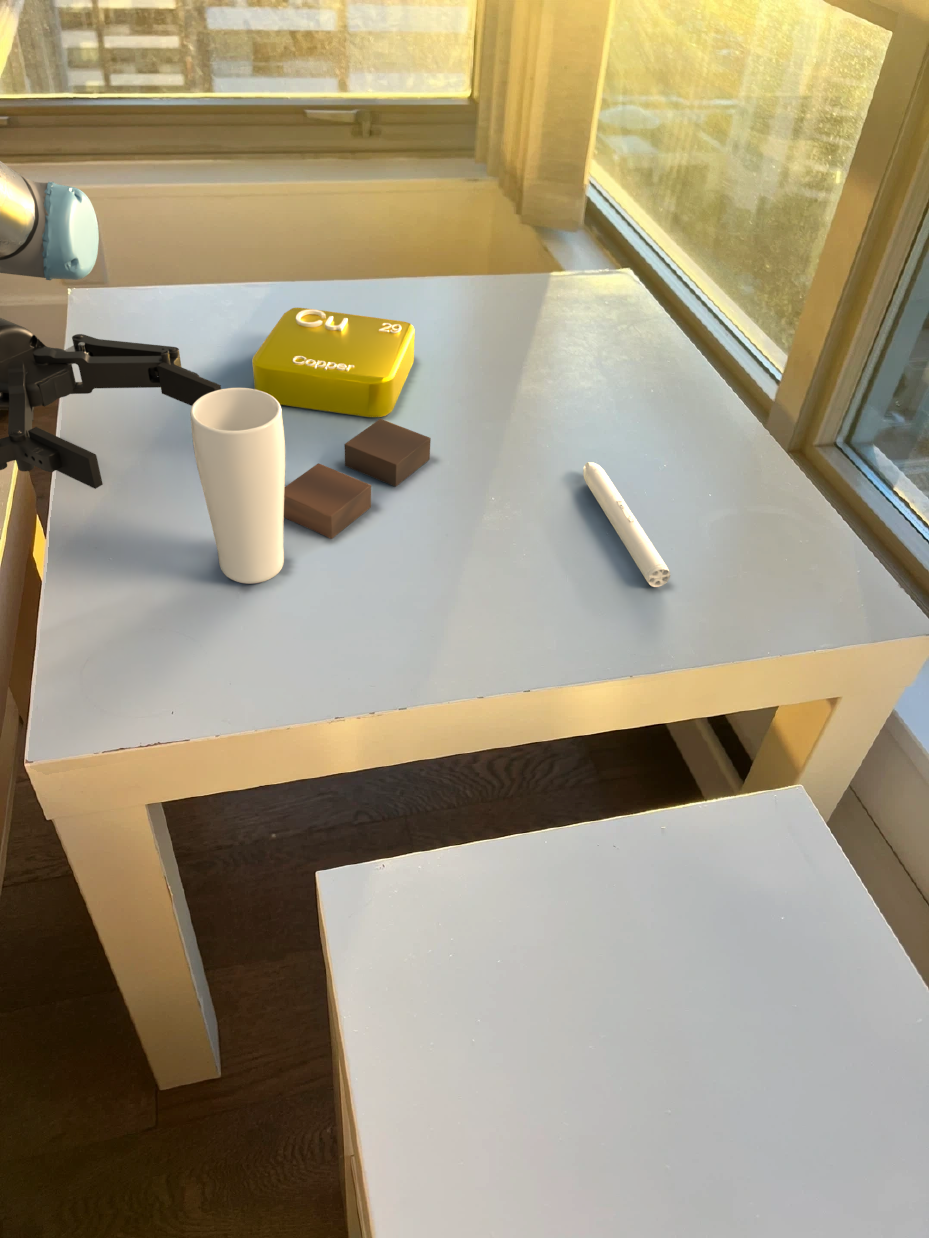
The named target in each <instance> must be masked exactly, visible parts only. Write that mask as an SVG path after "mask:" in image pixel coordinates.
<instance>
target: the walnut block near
mask: <svg viewBox="0 0 929 1238" xmlns="http://www.w3.org/2000/svg"><path fill="white" fill-rule="evenodd" d="M371 508H372V484H370V483H367V482H365V481H362V480H360V479H358V478H355V477H353V476H350V475H348V474H346V473H344V472H341V471H338V470H336V469H334V468H332V467H329V466H326V465H324V464H322V463H317V464H315V465H314V466H312V467H311V468H309V469H308V470H306V471H305V472H304V473H303V474H301V475H300V476H298V477H297V478H295V479H294V480H293V481H290V482H289V483H288V484H287V485H285V491H284V519H287V520H288V521H290V522H292V523H295V524H298V525H299V526H302V527H304V528H307V529H308V530H310V531H312V532H315V533H318V534H320V535H322V536H324V537H327V538H329V539H332V540H333V539H334V538H335V537H336V536H337V535H338V534H340V533H341V532H342V531H344V530H345V529H347V527H349V526H350V525H351V524H352V523H354V522H355V521H356V520H357V519H358V518H360V517H361V516H362V515H364V514H365V513H366V512H367V511H368V510H370V509H371Z"/></svg>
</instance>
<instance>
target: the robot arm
mask: <svg viewBox="0 0 929 1238" xmlns="http://www.w3.org/2000/svg"><path fill="white" fill-rule="evenodd" d="M99 235H100V234H99V224H98V219H97V214H96V211H95V208H94V205H93V204H92V201H91V199H90V198H89V197H88V196H87V194H86V193H85V192H83V191H82V190H81V189H79V188H78V187H75V186H70V185H63V184H60V183H59V184H58V183H56V182H54V181H48V182H38V181H34V180H31V179H28V178H26V177H25V176H23V175H22V174H21V173H19V172H17V171H16V170H14V169H13V168H11V167H10V166H8V165H7V164H6V163H4V162H3V161H1V160H0V274H6V275H15V276H24V277H32V278H33V277H34V278H39V279H40V278H42V279H45V280H46V281H52V280H70V281H73V280H74V281H77V280H82V279H84V278H86V277H87V276H88V275H89V274H90V273H91V272H92V271H93V269H94V267H95V265H96V262H97V258H98V253H99V244H100V243H99V242H100V240H99ZM71 340H72V344H73V345H72V346H70V347H68V348H66V349H63V348H59V347H51V346H48V345H47V346H46V345H45V344H44V343H43V342H42V341H41V340H40V339H39V338H38V337H37V336H36V334H34V333H33V331H30V330H29V329H28V328H27V327H24V326H22V325H19V324H18V323H15V322H13V321H10V320H7V319H5V318H2V317H0V411H8V421H7V423H8V425H7V426H8V427H7V435H8V436H4V437H1V438H0V471H2V470H5V469H6V468H8V463H10V462H14V461H15V462H16V466H17V468H18V471H20V472H30V471H33V469H35V468H38V469H41V470H42V471H44V472H48V473H54V472H59V473H60V474H61V473H62V475H65V476H66V477H69V478H72V479H73V480H75V481H78V482H80V483H82V484H84V485H86V486H88V487H90V488H92V489H94V490H96V489H98V488H99V487H101V486H104V485H103V484H104V483H103V479H102V475H101V470H100V466H99V461H98V456H97V454H96V453H95V452H92V451H90V450H87V449H86V448H84V447H81V446H79V445H77V444H74V443H72V442H70V441H68V440H65V438H61V437H59V436H57V435H55V434H52V433H50V432H49V431H47V430H44V429H42V428H39V427H38V426H35V427H33V422H34V409H35V408H36V407H45V408H46V407H47V406H49V405H51V404H53V403H54V402H56V401H57V400H58V399H62V398H64V397H67V396H70V395H86V394H87V395H88V394H91V393H92V392H93V390H96V389H142V388H143V389H144V388H145V389H146V388H150V389H151V388H155V389H156V388H160V392H161V394H162V395H164V396H167V397H169V398H171V399H174V400H177V401H179V402H180V403H184V404H186V405H188V406H191V407H192V405H193V404H194V403H195V402H196V401H197V400H198V399H199V398H200V397H202V396H204V395H206V394H208V393H210V392H213V391H217V390H221V389H222V385H221V384H220V383H217V382H214V381H211V380H209V379H207V378H204V377H201V376H200V375H199V374H198V373H197V372H194V371H192V370H190V369H189V370H188V369H187V368H184V367H182V361H181V354H180V353H181V352H180V349H179V347H176V346H171V345H161V344H159V345H158V344H150V343H142V342H132V341H122V340H112V339H102V338H96V337H93V336H91V335H90V336H89V335H86V334H83V333H77V334H74V335H72V336H71ZM74 364H75V365H77V367H78V370H79V376H80V380H81V381H76V377H75V372H74V368H73V365H74Z"/></svg>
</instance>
